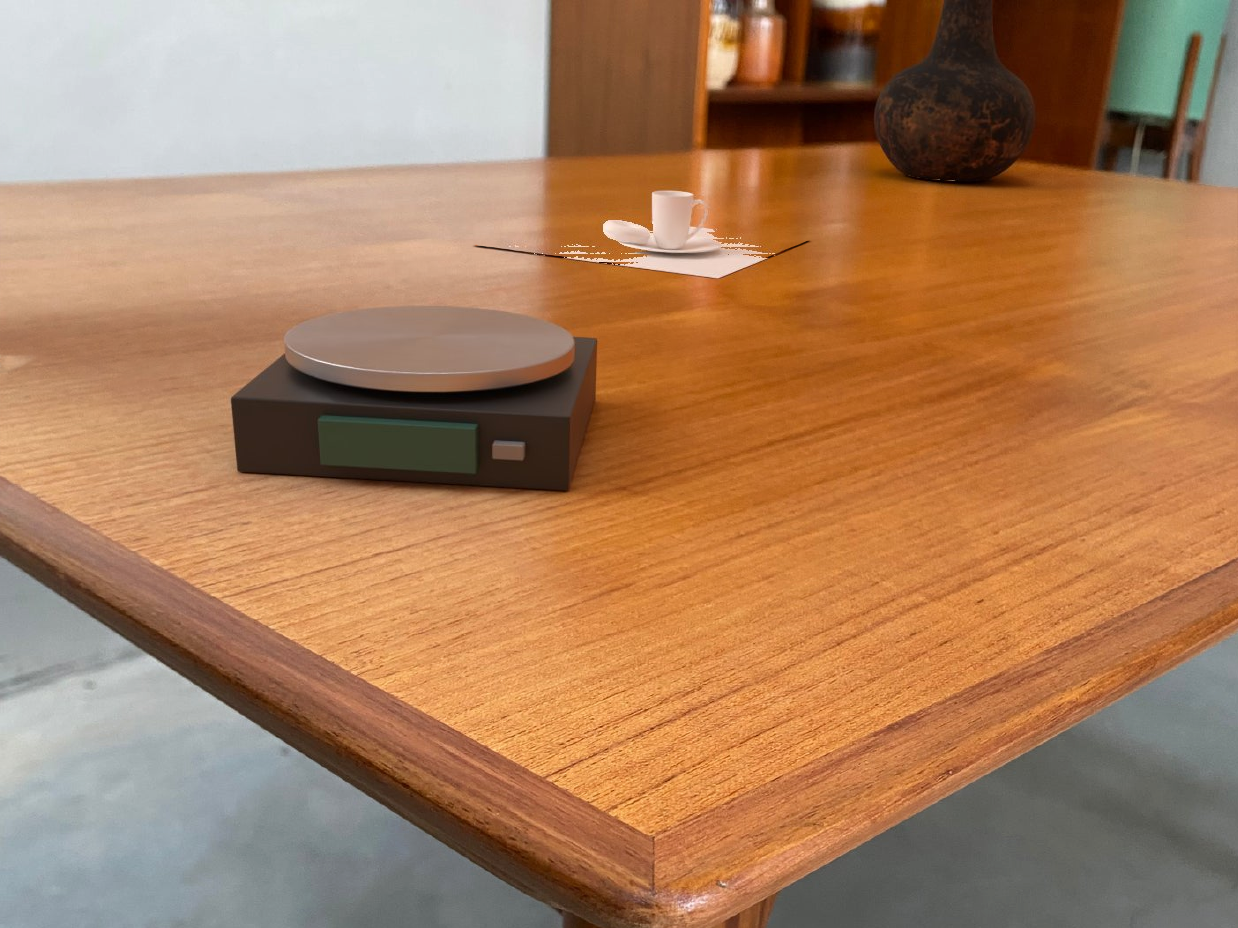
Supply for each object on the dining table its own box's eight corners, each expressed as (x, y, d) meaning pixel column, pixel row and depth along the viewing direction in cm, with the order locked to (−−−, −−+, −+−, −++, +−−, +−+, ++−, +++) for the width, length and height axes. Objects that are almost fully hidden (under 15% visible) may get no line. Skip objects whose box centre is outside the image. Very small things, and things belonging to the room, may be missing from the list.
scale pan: (245, 383, 51) (244, 363, 50) (328, 316, 61) (327, 298, 61) (558, 401, 50) (559, 381, 50) (586, 330, 61) (586, 313, 61)
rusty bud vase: (1032, 177, 158) (1075, -90, 146) (1015, 193, 143) (1062, -103, 131) (884, 164, 164) (914, -93, 151) (853, 179, 148) (884, -107, 136)
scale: (231, 477, 51) (224, 401, 50) (324, 385, 63) (321, 322, 62) (567, 497, 51) (568, 421, 49) (595, 400, 63) (597, 337, 62)
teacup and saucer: (590, 249, 100) (591, 192, 98) (635, 235, 106) (637, 182, 105) (696, 262, 97) (700, 204, 95) (736, 248, 103) (740, 193, 101)
